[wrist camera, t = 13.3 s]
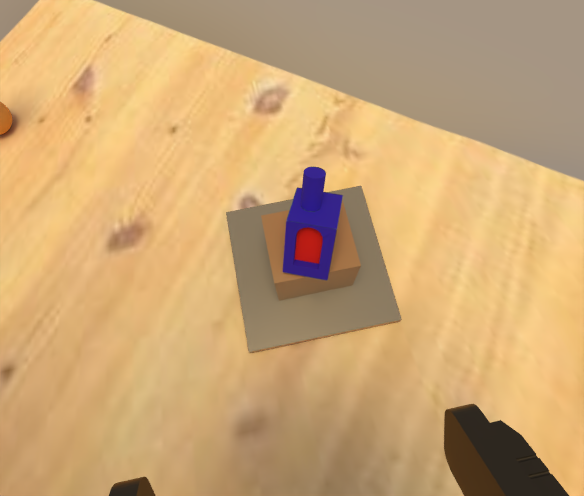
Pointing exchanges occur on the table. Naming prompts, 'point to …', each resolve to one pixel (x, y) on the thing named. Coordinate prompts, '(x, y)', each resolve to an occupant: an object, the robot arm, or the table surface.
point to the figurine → (5, 119)
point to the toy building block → (311, 227)
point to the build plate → (312, 307)
